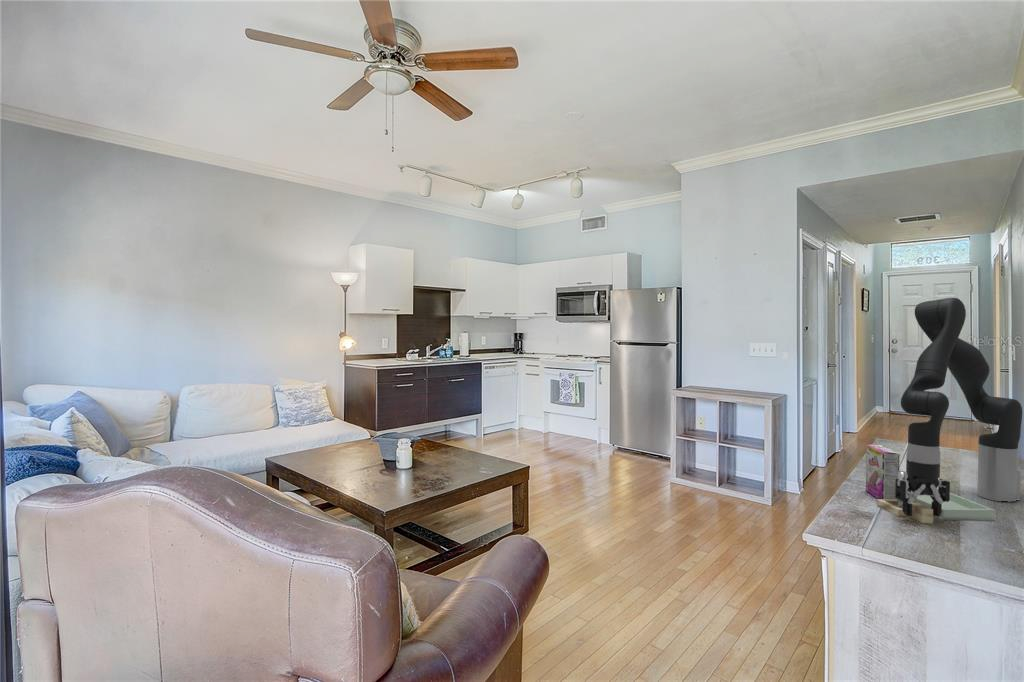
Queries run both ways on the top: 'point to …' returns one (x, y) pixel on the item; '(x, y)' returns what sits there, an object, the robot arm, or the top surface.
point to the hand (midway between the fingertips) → (921, 515)
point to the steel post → (903, 476)
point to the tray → (958, 508)
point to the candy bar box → (881, 471)
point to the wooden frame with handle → (890, 505)
